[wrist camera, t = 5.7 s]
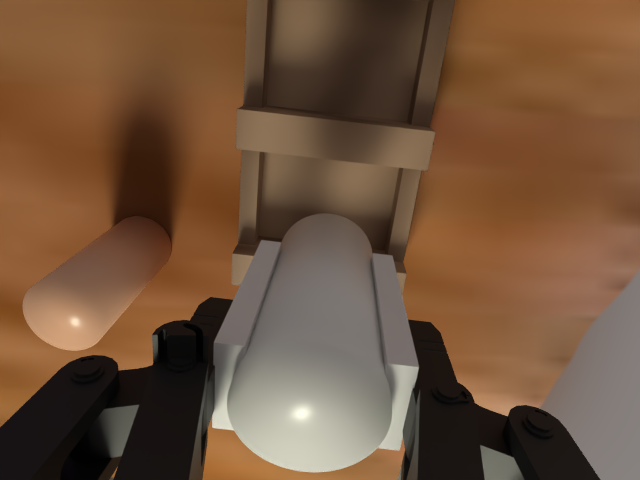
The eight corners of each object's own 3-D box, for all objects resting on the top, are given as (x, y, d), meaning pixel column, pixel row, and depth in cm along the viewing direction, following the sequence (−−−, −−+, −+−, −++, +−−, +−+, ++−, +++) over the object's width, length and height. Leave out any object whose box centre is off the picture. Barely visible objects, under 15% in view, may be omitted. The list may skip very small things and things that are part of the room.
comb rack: (245, 256, 30) (231, 284, 26) (268, -271, 20) (251, -347, 16) (393, 273, 30) (400, 303, 26) (491, -246, 20) (526, -316, 16)
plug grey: (276, 292, 20) (225, 461, 11) (282, 208, 18) (228, 332, 10) (365, 303, 20) (378, 480, 11) (378, 219, 18) (405, 354, 10)
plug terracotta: (114, 267, 30) (29, 345, 22) (110, 212, 29) (16, 274, 21) (172, 273, 30) (108, 354, 22) (170, 219, 29) (101, 284, 21)
